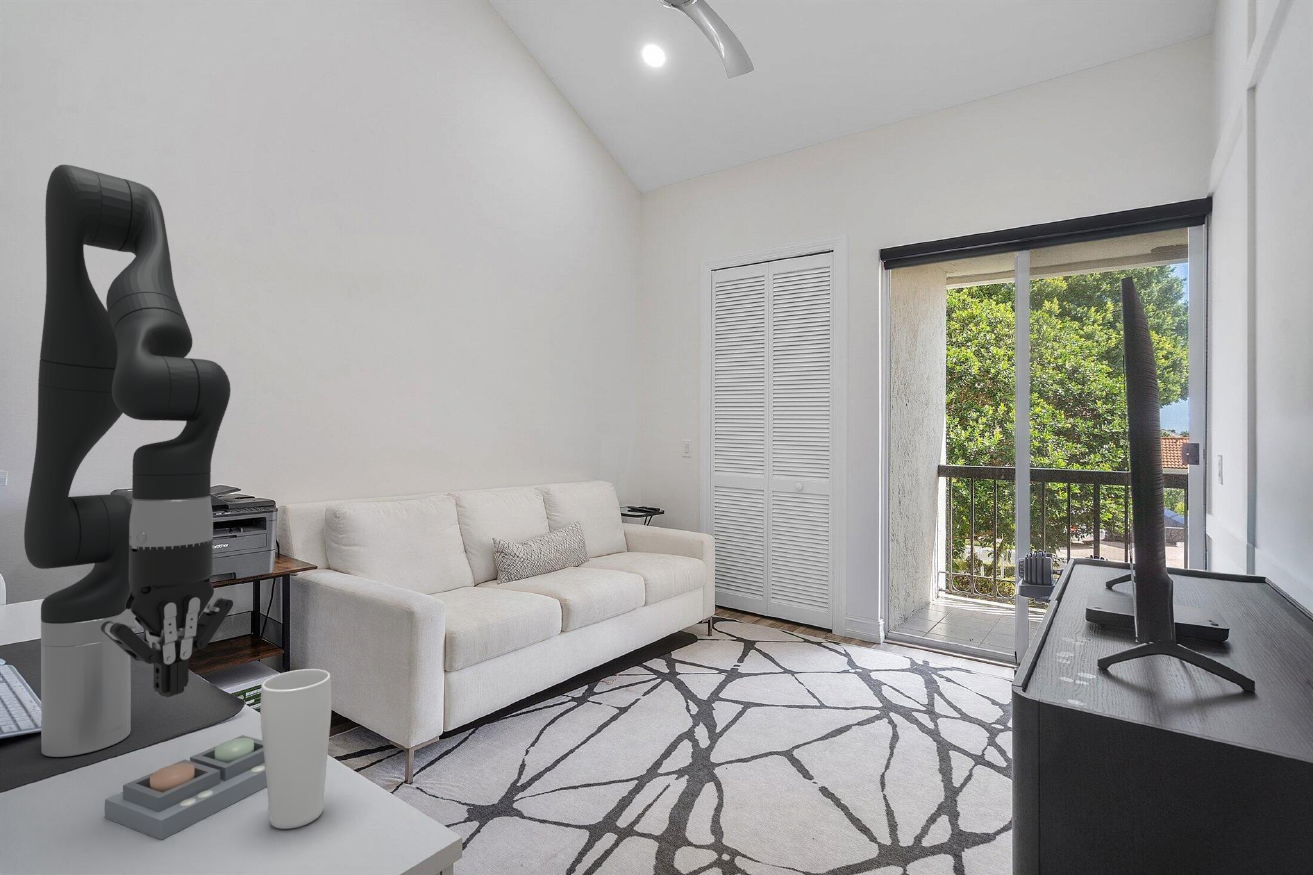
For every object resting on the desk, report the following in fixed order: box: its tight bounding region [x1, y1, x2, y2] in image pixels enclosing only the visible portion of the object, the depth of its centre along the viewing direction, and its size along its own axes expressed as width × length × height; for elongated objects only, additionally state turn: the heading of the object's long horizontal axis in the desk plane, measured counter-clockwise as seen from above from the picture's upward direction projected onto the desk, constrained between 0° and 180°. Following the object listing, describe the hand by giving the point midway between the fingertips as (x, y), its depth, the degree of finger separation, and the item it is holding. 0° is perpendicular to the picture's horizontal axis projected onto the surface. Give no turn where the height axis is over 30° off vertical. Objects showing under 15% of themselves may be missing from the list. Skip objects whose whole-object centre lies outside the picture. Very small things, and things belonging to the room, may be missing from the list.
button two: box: [150, 763, 195, 793], centre depth 75 cm, size 4×4×2 cm
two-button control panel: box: [104, 735, 267, 841], centre depth 78 cm, size 10×15×4 cm, turn 156°
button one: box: [215, 738, 254, 763], centre depth 81 cm, size 4×4×2 cm
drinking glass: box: [260, 668, 332, 830], centre depth 73 cm, size 7×7×15 cm
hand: (170, 693), depth 75 cm, fingers closed
